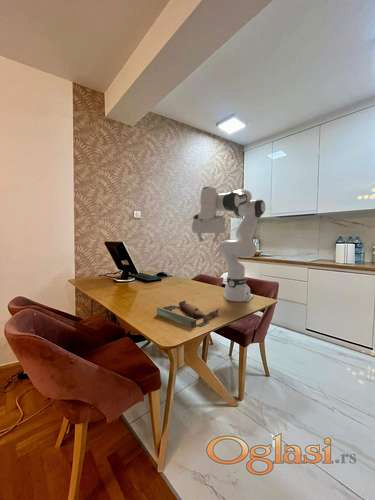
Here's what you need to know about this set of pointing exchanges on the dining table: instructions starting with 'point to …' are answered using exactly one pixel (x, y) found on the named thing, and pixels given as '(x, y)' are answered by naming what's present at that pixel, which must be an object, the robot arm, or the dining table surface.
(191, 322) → the trap lane
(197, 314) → the brown oblong lump
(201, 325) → the mats
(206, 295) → the dining table surface
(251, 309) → the dining table surface
